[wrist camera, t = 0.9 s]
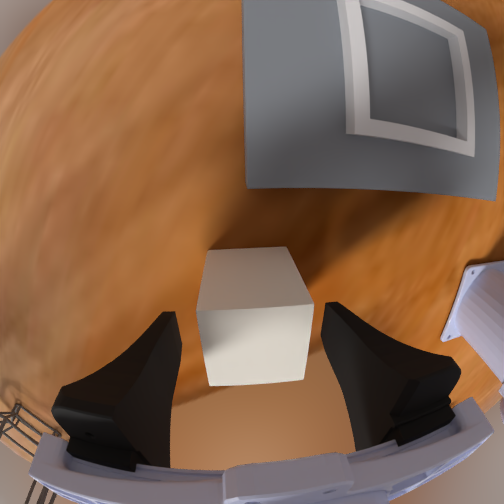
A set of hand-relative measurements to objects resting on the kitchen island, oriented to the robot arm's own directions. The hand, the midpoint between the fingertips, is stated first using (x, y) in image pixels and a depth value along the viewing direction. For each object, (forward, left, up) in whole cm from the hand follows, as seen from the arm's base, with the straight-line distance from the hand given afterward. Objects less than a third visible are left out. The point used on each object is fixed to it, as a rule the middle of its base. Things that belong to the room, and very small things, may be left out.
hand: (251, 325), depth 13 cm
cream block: (0, 0, -4) cm, 4 cm away
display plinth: (-9, -13, -4) cm, 16 cm away
